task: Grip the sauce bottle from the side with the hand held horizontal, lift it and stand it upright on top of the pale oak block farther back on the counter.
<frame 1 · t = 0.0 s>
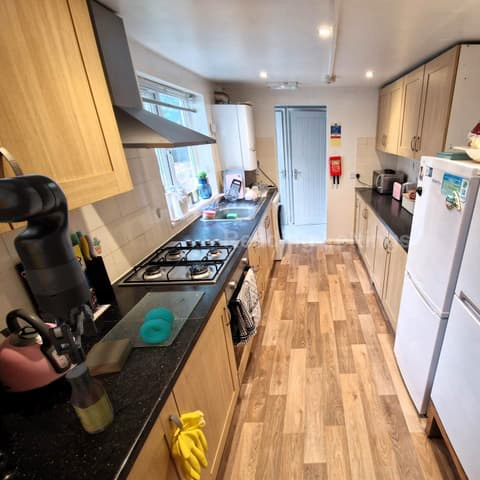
hand: (86, 348, 56), 30 cm above the worktop, tool pointing down, fingers open, 8 cm apart
donuts: (160, 336, 102), on the worktop
sauce bottle: (101, 424, 71), on the worktop
oak block: (109, 361, 90), on the worktop
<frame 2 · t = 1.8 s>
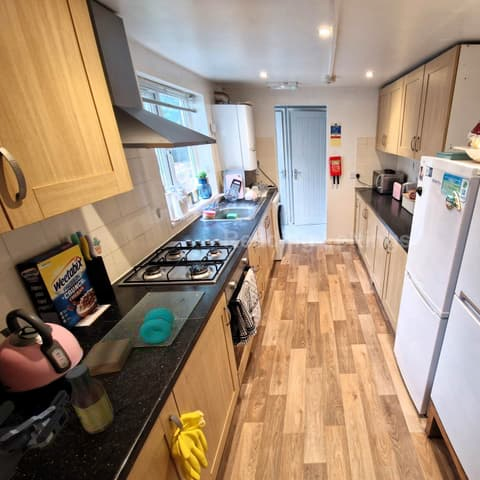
hand: (38, 398, 51), 25 cm above the worktop, tool horizontal, fingers open, 8 cm apart
nothing on the worktop moved.
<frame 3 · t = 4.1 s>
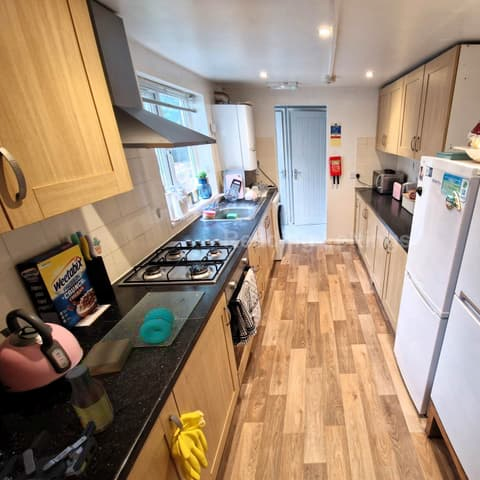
hand: (69, 428, 59), 11 cm above the worktop, tool horizontal, fingers open, 8 cm apart
nothing on the worktop moved.
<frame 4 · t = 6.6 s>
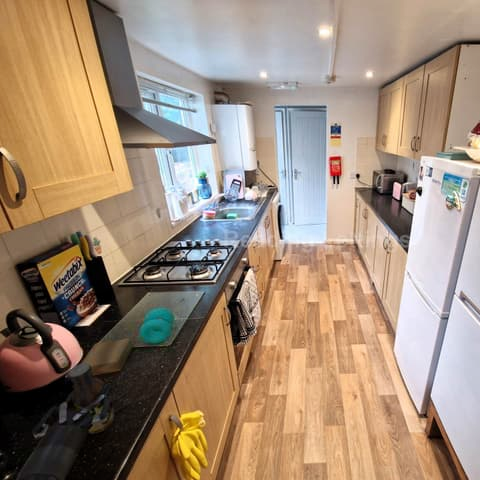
hand: (93, 388, 68), 11 cm above the worktop, tool horizontal, fingers closed on sauce bottle, 6 cm apart
sauce bottle: (101, 424, 71), on the worktop, touching gripper
everything else where it was.
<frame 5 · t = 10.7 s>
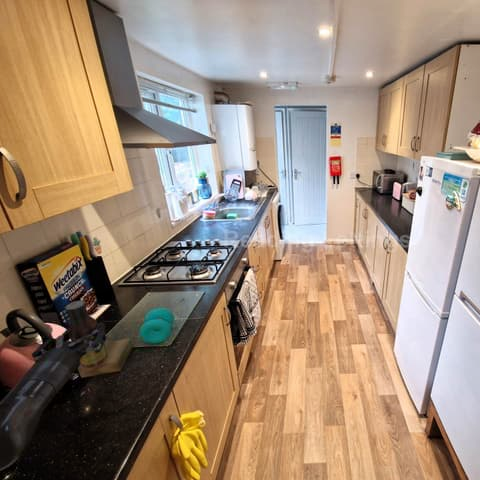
hand: (87, 327, 75), 22 cm above the worktop, tool horizontal, fingers closed on sauce bottle, 6 cm apart
sauce bottle: (95, 362, 77), point 10 cm above the worktop, touching gripper
everything else where it was.
when the fingers open (15 cm above the worktop, at t = 14.7 s): sauce bottle stays where it is, resting on oak block.
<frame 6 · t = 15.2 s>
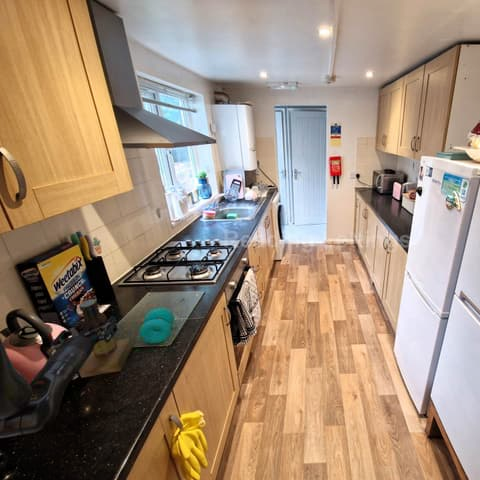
hand: (98, 320, 86), 16 cm above the worktop, tool horizontal, fingers open, 8 cm apart
sauce bottle: (106, 351, 89), point 4 cm above the worktop, touching oak block
oak block: (109, 361, 90), on the worktop, touching sauce bottle
everything else where it was.
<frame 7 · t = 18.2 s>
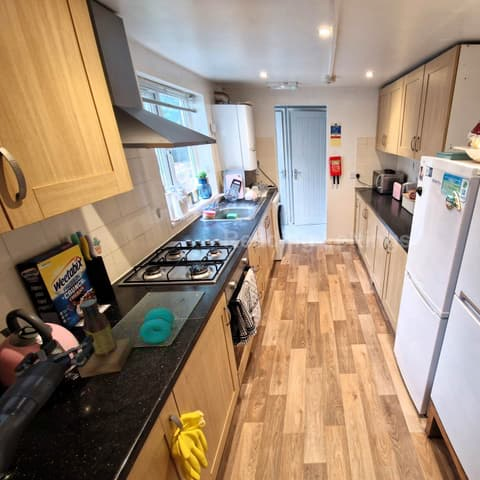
hand: (73, 339, 74), 19 cm above the worktop, tool horizontal, fingers open, 8 cm apart
nothing on the worktop moved.
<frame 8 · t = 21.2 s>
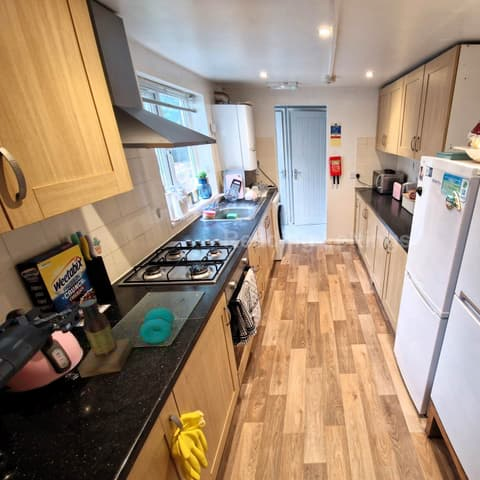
hand: (57, 307, 69), 30 cm above the worktop, tool horizontal, fingers open, 8 cm apart
nothing on the worktop moved.
at the end: sauce bottle 0.4 cm off-centre on the oak block, point 3.8 cm above the oak block's base; sauce bottle tilted 0°; the gripper is holding nothing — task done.
